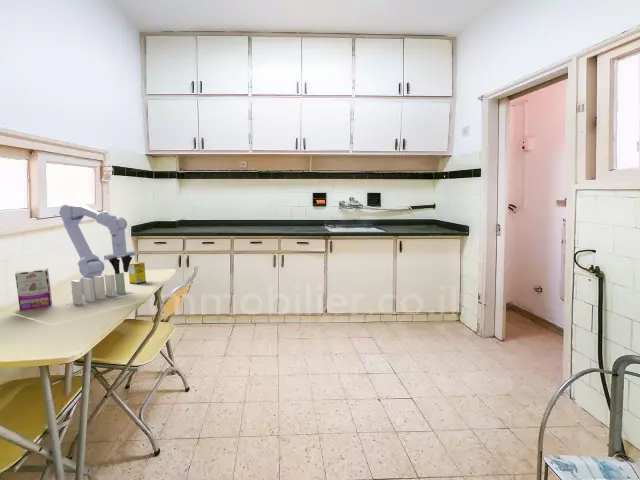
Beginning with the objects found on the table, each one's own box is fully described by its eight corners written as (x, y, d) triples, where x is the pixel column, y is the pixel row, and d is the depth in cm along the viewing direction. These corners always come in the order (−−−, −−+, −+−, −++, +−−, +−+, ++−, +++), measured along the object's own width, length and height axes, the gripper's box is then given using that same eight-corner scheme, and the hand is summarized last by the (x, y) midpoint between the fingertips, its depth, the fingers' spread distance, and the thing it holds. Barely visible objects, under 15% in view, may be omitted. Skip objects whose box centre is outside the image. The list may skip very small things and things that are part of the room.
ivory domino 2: (91, 301, 183) (89, 279, 181) (84, 300, 185) (82, 278, 184) (94, 301, 184) (92, 278, 183) (88, 299, 187) (86, 277, 185)
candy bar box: (52, 305, 181) (48, 268, 179) (51, 308, 177) (47, 269, 175) (21, 309, 176) (16, 271, 174) (19, 312, 172) (14, 273, 170)
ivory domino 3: (102, 299, 187) (100, 277, 186) (95, 297, 189) (93, 276, 188) (105, 298, 188) (103, 276, 187) (99, 297, 191) (97, 275, 190)
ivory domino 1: (79, 304, 178) (77, 281, 177) (73, 303, 181) (71, 280, 180) (83, 303, 180) (81, 281, 178) (77, 302, 182) (74, 280, 181)
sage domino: (122, 294, 195) (120, 273, 194) (116, 292, 198) (114, 272, 197) (125, 293, 197) (123, 272, 195) (119, 292, 199) (117, 271, 198)
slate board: (77, 308, 175) (77, 306, 175) (65, 305, 181) (65, 303, 180) (133, 294, 197) (133, 292, 197) (121, 291, 202) (120, 290, 202)
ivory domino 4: (112, 296, 191) (110, 275, 190) (106, 295, 194) (104, 274, 192) (116, 295, 192) (114, 274, 191) (109, 294, 195) (107, 273, 194)
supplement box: (146, 282, 223) (144, 262, 221) (136, 284, 218) (134, 264, 216) (139, 281, 226) (137, 261, 225) (129, 283, 221) (127, 263, 219)
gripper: (109, 246, 185) (112, 276, 187) (138, 242, 197) (140, 270, 199) (100, 245, 189) (103, 275, 191) (129, 241, 201) (131, 269, 203)
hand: (121, 272), depth 195 cm, fingers open, 4 cm apart
